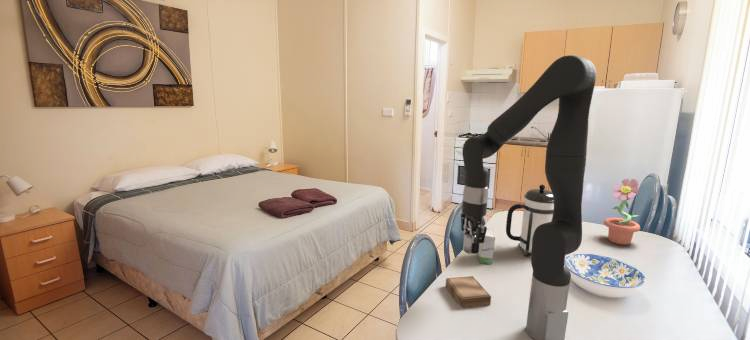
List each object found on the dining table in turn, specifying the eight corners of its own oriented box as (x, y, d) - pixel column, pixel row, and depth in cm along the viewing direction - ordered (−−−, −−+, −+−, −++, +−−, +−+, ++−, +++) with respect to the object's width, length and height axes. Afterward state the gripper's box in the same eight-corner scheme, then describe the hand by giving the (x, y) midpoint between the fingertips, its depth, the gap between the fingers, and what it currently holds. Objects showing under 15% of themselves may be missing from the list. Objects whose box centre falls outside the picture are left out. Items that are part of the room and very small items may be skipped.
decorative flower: (592, 235, 173) (602, 175, 167) (616, 234, 176) (627, 174, 170) (618, 249, 159) (630, 183, 153) (644, 247, 162) (657, 182, 155)
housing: (466, 254, 114) (468, 238, 113) (460, 247, 119) (461, 232, 118) (481, 253, 115) (482, 237, 114) (474, 246, 120) (475, 231, 118)
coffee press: (527, 241, 165) (534, 178, 159) (560, 255, 152) (570, 186, 145) (502, 249, 156) (509, 183, 149) (536, 264, 143) (545, 192, 136)
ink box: (477, 254, 151) (480, 227, 149) (490, 255, 150) (493, 228, 148) (479, 263, 143) (481, 235, 141) (492, 264, 142) (495, 236, 140)
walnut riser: (490, 304, 115) (491, 296, 114) (461, 307, 113) (461, 298, 112) (472, 283, 127) (472, 275, 127) (445, 286, 125) (446, 278, 125)
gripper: (454, 193, 119) (451, 241, 123) (474, 206, 105) (469, 260, 109) (475, 192, 121) (471, 240, 124) (497, 205, 107) (492, 258, 110)
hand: (470, 249), depth 117 cm, fingers closed on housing, 5 cm apart
